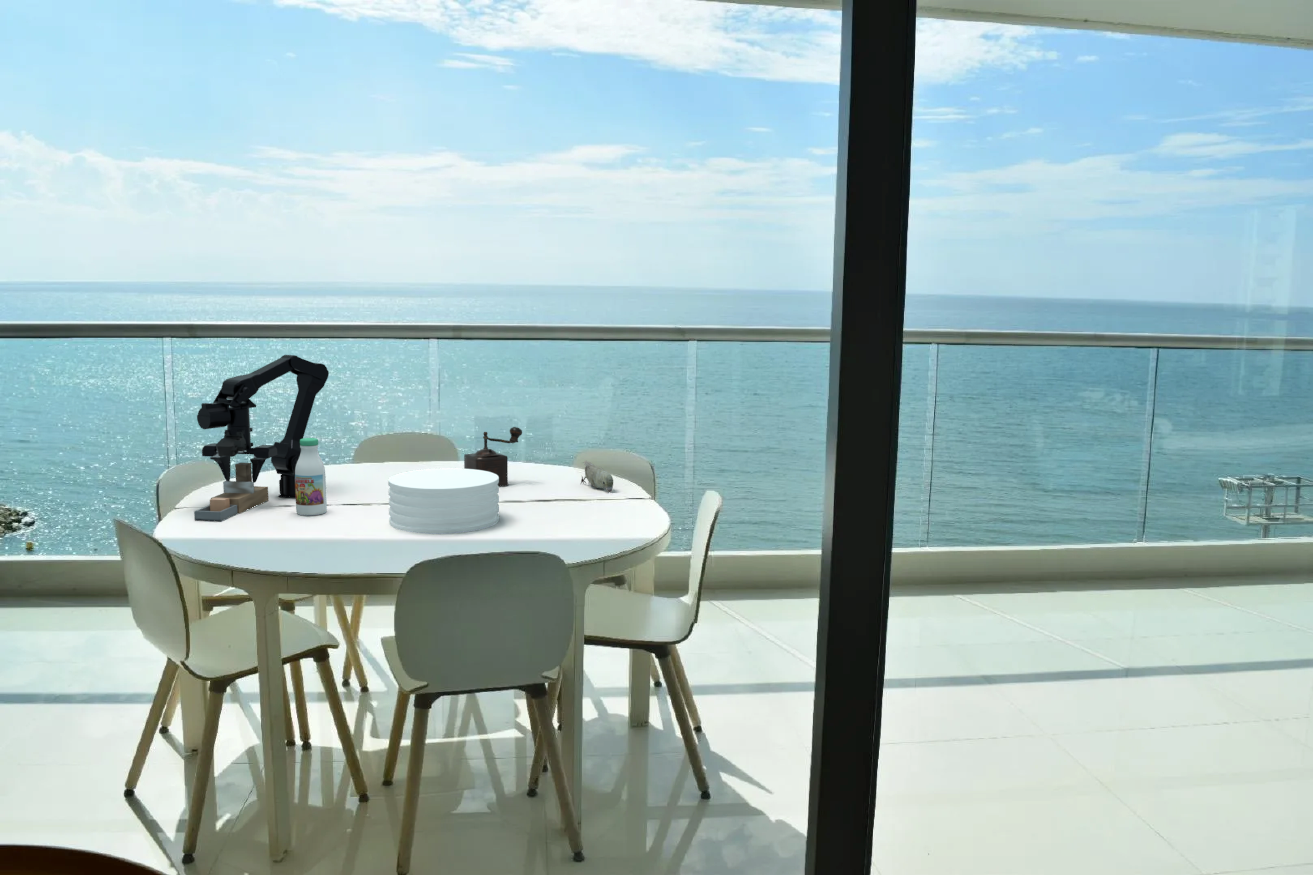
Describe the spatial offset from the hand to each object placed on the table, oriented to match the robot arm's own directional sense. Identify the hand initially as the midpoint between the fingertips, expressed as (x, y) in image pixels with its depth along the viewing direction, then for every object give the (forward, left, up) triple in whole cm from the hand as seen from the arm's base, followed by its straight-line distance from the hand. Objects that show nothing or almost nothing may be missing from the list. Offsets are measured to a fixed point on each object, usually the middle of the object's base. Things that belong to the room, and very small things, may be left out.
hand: (241, 481), depth 271 cm
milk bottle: (-22, +5, -7) cm, 23 cm away
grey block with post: (0, 0, -3) cm, 3 cm away
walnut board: (0, +1, -7) cm, 7 cm away
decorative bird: (-92, -40, -7) cm, 101 cm away
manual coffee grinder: (-60, -41, -7) cm, 73 cm away
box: (0, +14, -7) cm, 15 cm away
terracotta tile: (0, +10, -4) cm, 11 cm away
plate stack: (-59, +8, -7) cm, 60 cm away
